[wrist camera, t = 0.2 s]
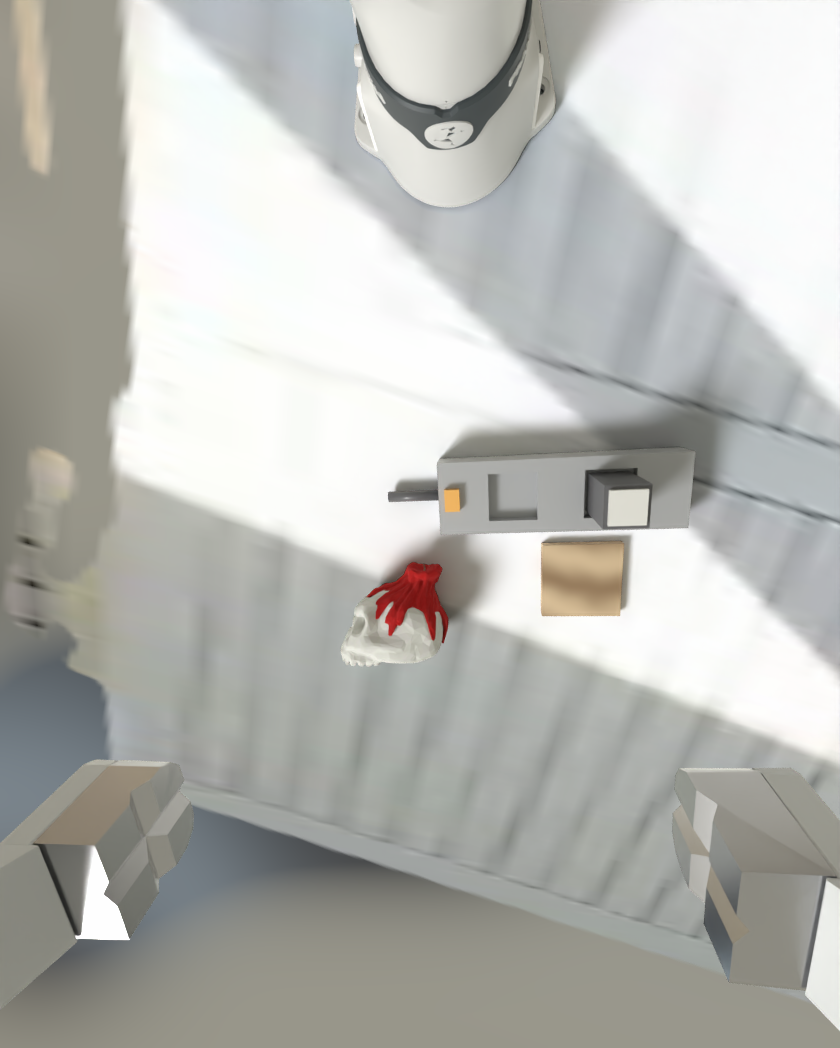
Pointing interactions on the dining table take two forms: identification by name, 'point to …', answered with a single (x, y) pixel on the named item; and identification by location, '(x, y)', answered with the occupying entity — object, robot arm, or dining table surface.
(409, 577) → the white red lumpy piece
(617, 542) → the cork coaster
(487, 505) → the power strip
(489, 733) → the dining table surface
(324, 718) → the dining table surface
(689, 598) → the dining table surface
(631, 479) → the block
